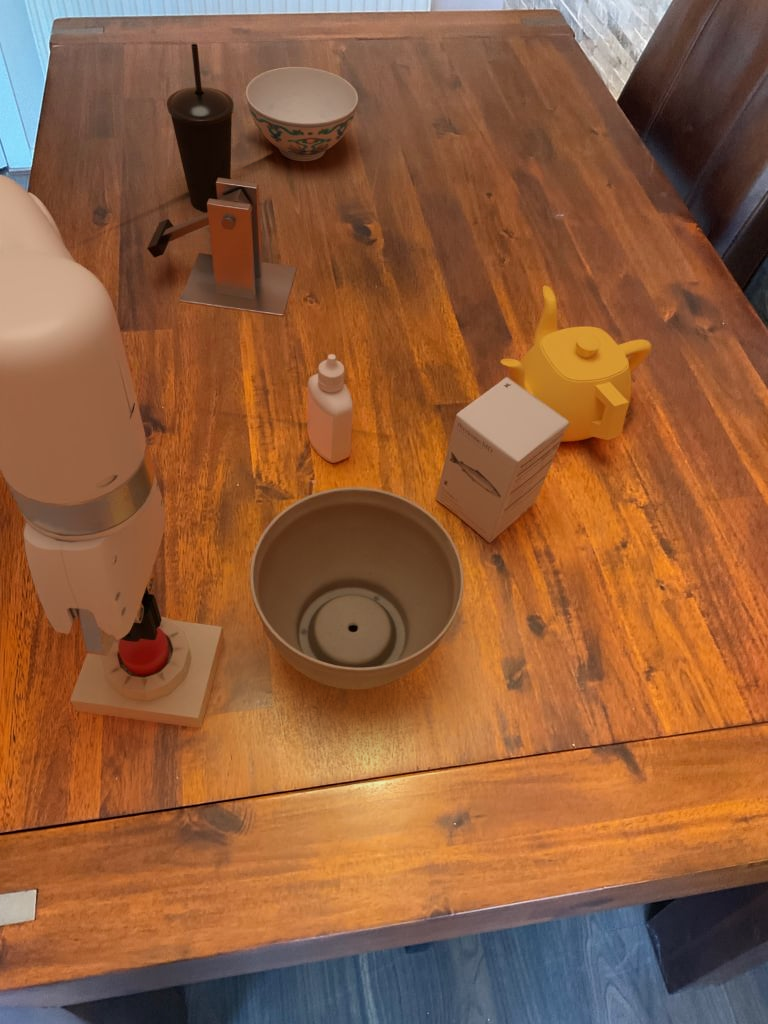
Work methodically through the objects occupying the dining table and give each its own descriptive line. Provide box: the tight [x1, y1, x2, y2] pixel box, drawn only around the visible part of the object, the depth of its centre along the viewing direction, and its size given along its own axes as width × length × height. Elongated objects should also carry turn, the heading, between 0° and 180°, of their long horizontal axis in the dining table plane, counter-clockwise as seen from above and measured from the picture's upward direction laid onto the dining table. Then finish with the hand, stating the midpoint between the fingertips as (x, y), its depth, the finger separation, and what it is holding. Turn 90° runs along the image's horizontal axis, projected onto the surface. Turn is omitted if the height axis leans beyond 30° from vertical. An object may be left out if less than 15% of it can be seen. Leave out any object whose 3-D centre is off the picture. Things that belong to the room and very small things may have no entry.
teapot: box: [500, 285, 652, 443], centre depth 84 cm, size 14×13×10 cm
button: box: [118, 627, 169, 675], centre depth 62 cm, size 4×4×2 cm
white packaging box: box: [435, 376, 569, 544], centre depth 74 cm, size 7×7×13 cm
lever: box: [146, 189, 253, 258], centre depth 88 cm, size 12×5×2 cm, turn 84°
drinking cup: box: [166, 43, 235, 213], centre depth 96 cm, size 8×8×20 cm
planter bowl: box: [249, 486, 465, 690], centre depth 65 cm, size 16×16×11 cm
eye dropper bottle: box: [306, 353, 354, 464], centre depth 77 cm, size 4×6×12 cm
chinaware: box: [245, 66, 359, 162], centre depth 111 cm, size 15×15×8 cm
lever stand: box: [178, 178, 298, 317], centre depth 89 cm, size 12×9×13 cm
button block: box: [69, 616, 225, 729], centre depth 64 cm, size 10×8×4 cm
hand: (137, 628), depth 59 cm, fingers closed
